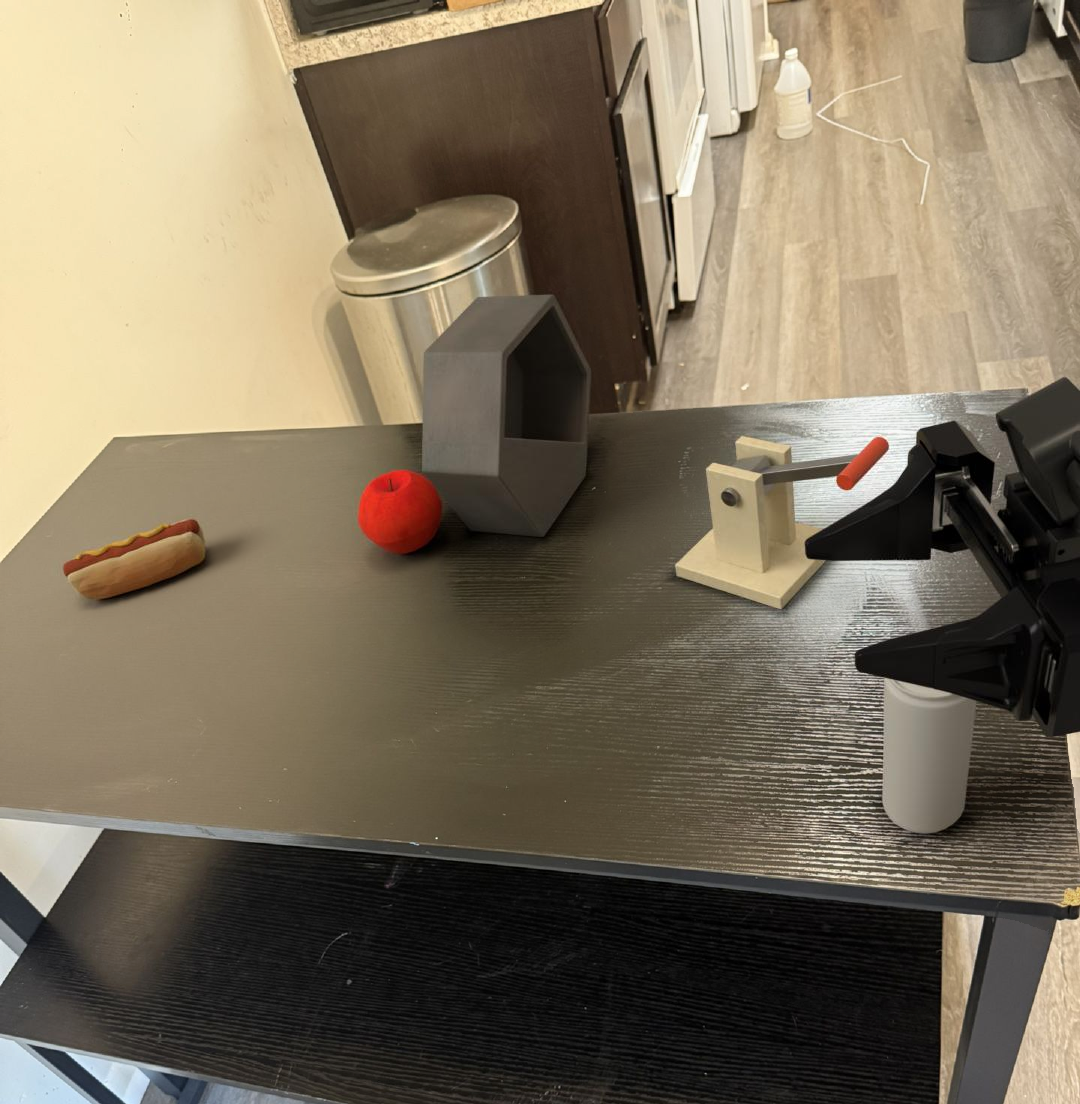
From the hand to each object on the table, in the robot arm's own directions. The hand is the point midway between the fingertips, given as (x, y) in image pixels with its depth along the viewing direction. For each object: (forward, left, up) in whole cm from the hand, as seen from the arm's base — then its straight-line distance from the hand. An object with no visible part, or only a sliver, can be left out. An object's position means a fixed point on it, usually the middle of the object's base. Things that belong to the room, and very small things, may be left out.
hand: (828, 601), depth 51 cm
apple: (+29, -42, -18) cm, 54 cm away
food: (+57, -47, -18) cm, 76 cm away
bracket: (-1, -28, -18) cm, 33 cm away
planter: (+17, -45, -18) cm, 51 cm away
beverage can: (-5, 0, -18) cm, 19 cm away
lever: (-5, -25, -10) cm, 27 cm away
